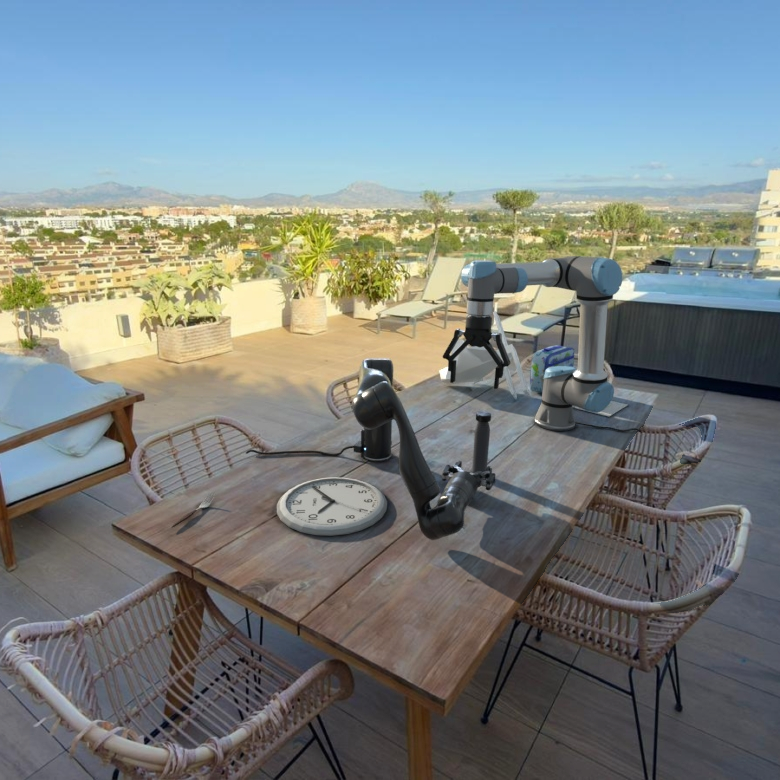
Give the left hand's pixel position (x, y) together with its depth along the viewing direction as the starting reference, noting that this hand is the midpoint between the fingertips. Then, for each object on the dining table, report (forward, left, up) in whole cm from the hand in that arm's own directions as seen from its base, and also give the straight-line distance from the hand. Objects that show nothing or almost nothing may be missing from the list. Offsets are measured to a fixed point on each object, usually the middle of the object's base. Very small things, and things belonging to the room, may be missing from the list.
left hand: (474, 466), depth 153 cm
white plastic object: (-20, +92, -6) cm, 94 cm away
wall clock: (-33, -27, -6) cm, 43 cm away
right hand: (-5, +12, +21) cm, 25 cm away
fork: (-64, -46, -6) cm, 79 cm away
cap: (0, +7, +14) cm, 16 cm away
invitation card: (+33, +94, -6) cm, 100 cm away
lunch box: (+10, +110, -6) cm, 110 cm away
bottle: (0, +7, -6) cm, 10 cm away
